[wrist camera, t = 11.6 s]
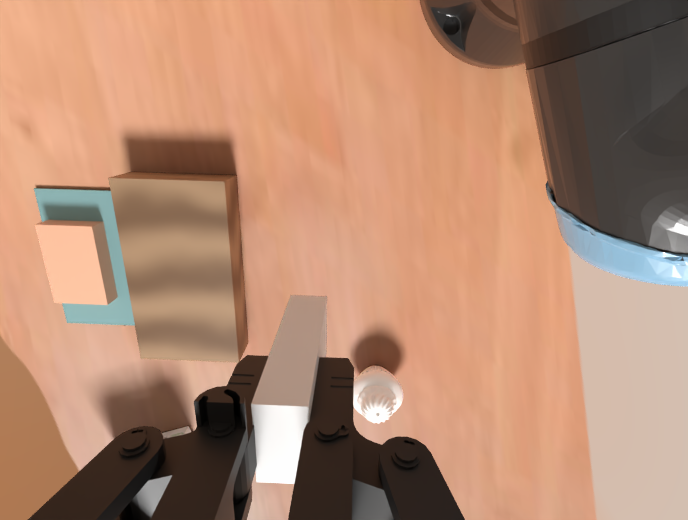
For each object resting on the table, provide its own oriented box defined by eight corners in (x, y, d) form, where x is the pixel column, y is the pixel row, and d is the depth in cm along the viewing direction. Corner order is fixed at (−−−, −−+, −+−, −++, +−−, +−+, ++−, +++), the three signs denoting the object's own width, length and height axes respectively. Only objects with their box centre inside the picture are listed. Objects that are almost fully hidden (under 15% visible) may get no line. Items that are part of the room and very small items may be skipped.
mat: (36, 188, 42) (33, 188, 42) (138, 191, 42) (137, 191, 42) (68, 321, 48) (67, 322, 48) (159, 325, 48) (158, 326, 47)
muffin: (396, 398, 50) (402, 441, 44) (348, 394, 50) (346, 436, 44) (403, 356, 48) (410, 395, 41) (352, 352, 48) (351, 390, 41)
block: (91, 226, 41) (103, 221, 43) (34, 224, 41) (48, 219, 43) (107, 305, 44) (117, 297, 46) (54, 302, 44) (66, 295, 46)
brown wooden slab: (130, 171, 41) (108, 178, 38) (236, 175, 41) (224, 181, 37) (157, 339, 48) (140, 358, 45) (248, 342, 48) (238, 362, 44)
